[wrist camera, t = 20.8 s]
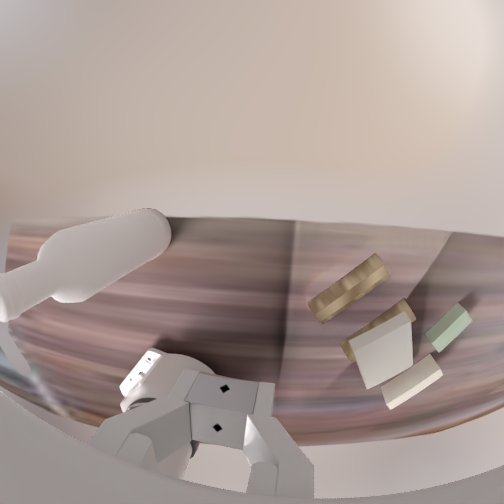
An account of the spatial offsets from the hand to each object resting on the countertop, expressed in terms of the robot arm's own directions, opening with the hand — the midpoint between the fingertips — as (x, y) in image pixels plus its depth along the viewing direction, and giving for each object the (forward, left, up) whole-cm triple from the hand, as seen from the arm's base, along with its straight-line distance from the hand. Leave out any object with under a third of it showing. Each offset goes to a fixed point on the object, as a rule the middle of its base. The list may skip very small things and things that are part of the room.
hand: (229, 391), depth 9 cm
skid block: (+13, -31, -34) cm, 48 cm away
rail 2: (+3, -22, -34) cm, 41 cm away
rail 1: (+3, -13, -34) cm, 37 cm away
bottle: (-16, +12, -34) cm, 40 cm away
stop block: (+3, -35, -34) cm, 49 cm away
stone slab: (+2, -25, -31) cm, 40 cm away
